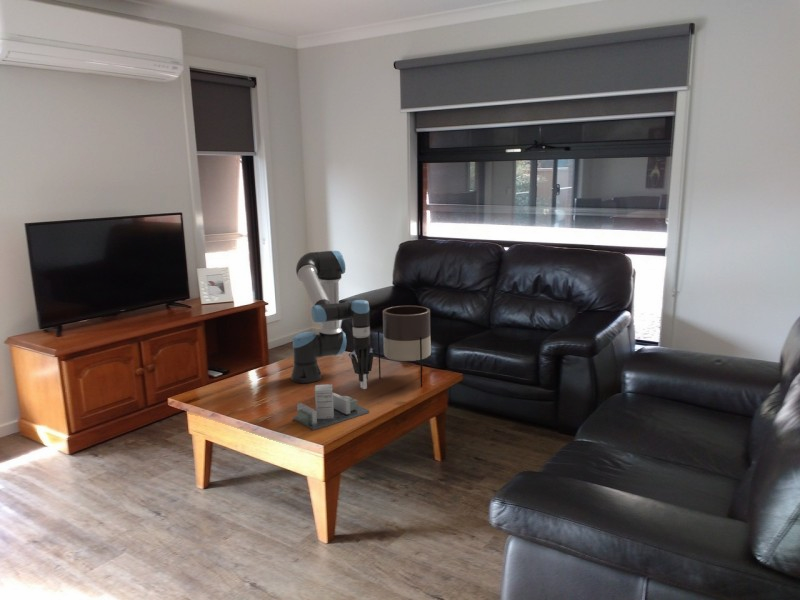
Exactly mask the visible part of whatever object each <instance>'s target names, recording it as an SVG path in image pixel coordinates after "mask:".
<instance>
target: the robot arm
mask: <svg viewBox="0 0 800 600" xmlns="http://www.w3.org/2000/svg"><path fill="white" fill-rule="evenodd" d="M346 270H347V269H346V262H345V259H344V256H343V254H342V252H341V251H339V250H325V251H324V250H323V251H312V252H310V251H309V252H308V253H305V254H304V255H302V256H301V257H300V258H299V260H298V261H297V263H296V266H295V271H296V272H295V273H296V276H297V279H298V280H299V281H301V282H302V283H303V286H304V288H305V291H306V293H307V295H308V298H309V300H310V303H311V304H312V307H311V310H310V311H311V312H310V313H311V318H312V321H313V322H314V323H322V324H321V327H320V328H319V331H318V332H319V333H318V334H316V332H315V331H305V332H300V333H297V334H296V335H294V337H293V339H292V351H293V354H292V355H293V366H292V367H293V368H292V371H291V375H290V378H291V382H294V383H295V384H296V383H297V384H311V383H315V382H318V381H320V380H321V379H322V372H321V369H320V366H319V365H318V358H322V357H330V356H338V355H342V354H344V352H345V351H346V348H347V336H346V333H345V332H344V331H343V328H341V327H340V321H345V320H351V323H352V324H351V325H352V336H353V337H352V342H353V343H352V344H353V350H352V352H351V353H348V356H349V358H350V360H351V364H352V368H353V372H354V374H356V375H358V381H359V382H360V388H361V389H363V390H366V389H368V384H367V381H368V380H369V377H368V376H369V374H370V372H372V369H373V362H374V356H375V353H376V349H375V348H372V346H371V336H370V335H371V324H370V322H371V321H370V319H371V317H370V304H369V301H368V300H366V299H355V300H346V301H345V302H340V300H339V299H340V296H339V295H340V291H339V287H340V285H339V284H340V283H339V281H340V280H341V279H342V275H343V274H345V273H346Z"/></svg>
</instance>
